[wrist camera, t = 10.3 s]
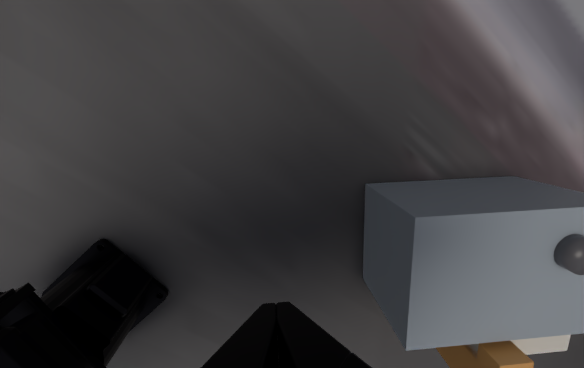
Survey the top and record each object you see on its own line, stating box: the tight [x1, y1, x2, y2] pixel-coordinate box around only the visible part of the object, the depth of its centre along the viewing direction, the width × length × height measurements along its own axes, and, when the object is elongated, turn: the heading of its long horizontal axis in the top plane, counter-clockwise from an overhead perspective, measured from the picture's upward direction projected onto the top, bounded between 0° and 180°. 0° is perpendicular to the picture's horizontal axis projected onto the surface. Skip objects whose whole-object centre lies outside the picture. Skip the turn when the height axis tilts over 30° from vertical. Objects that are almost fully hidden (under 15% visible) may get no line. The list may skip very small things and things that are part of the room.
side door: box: [436, 334, 571, 368], centre depth 20 cm, size 6×4×8 cm, turn 92°
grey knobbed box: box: [363, 176, 584, 351], centre depth 19 cm, size 14×8×8 cm, turn 92°
